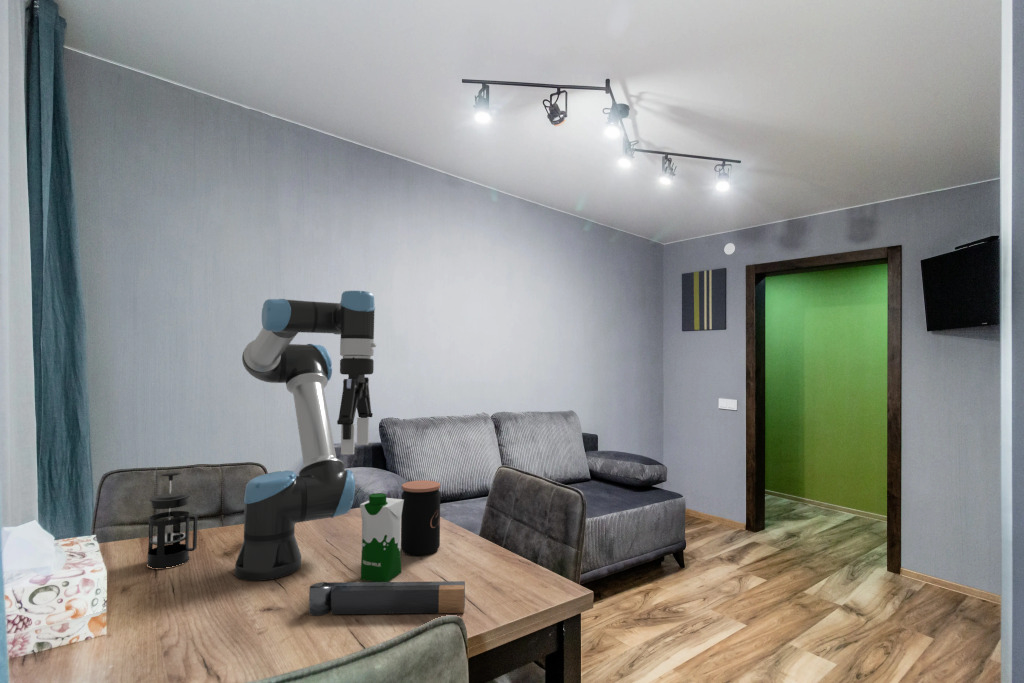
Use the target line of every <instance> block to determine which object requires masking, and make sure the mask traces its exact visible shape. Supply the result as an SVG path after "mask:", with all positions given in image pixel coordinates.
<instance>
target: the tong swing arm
mask: <svg viewBox="0 0 1024 683" xmlns="http://www.w3.org/2000/svg"><path fill="white" fill-rule="evenodd" d="M464 588H465V589H466V584H465V585H440V586H370V587H334V589H333V590H332V611H331V615H359V614H360V615H369V614H370V615H374V614H375V615H376V614H377V615H378V614H379V615H381V614H385V615H386V614H464V613H465V608H464Z"/></svg>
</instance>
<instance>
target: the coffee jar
mask: <svg viewBox="0 0 1024 683" xmlns="http://www.w3.org/2000/svg"><path fill="white" fill-rule="evenodd" d="M440 488H441V483H440V482H438V481H435V480H428V479H427V480H425V479H424V480H411V481H407V482H404V483H403V484H402V485H401V490H402V493H401V499H403V500H404V502H403V508H402V515H401V551H402V552H403V553H404V554H405V555H407V556H410V557H411V556H412V557H423V556H424V557H425V556H429V555H433V554H435V553H437V551H438V549H439V548H440V546H441V543H440V542H441V540H440V539H441V538H440V537H441V491H440Z"/></svg>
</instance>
